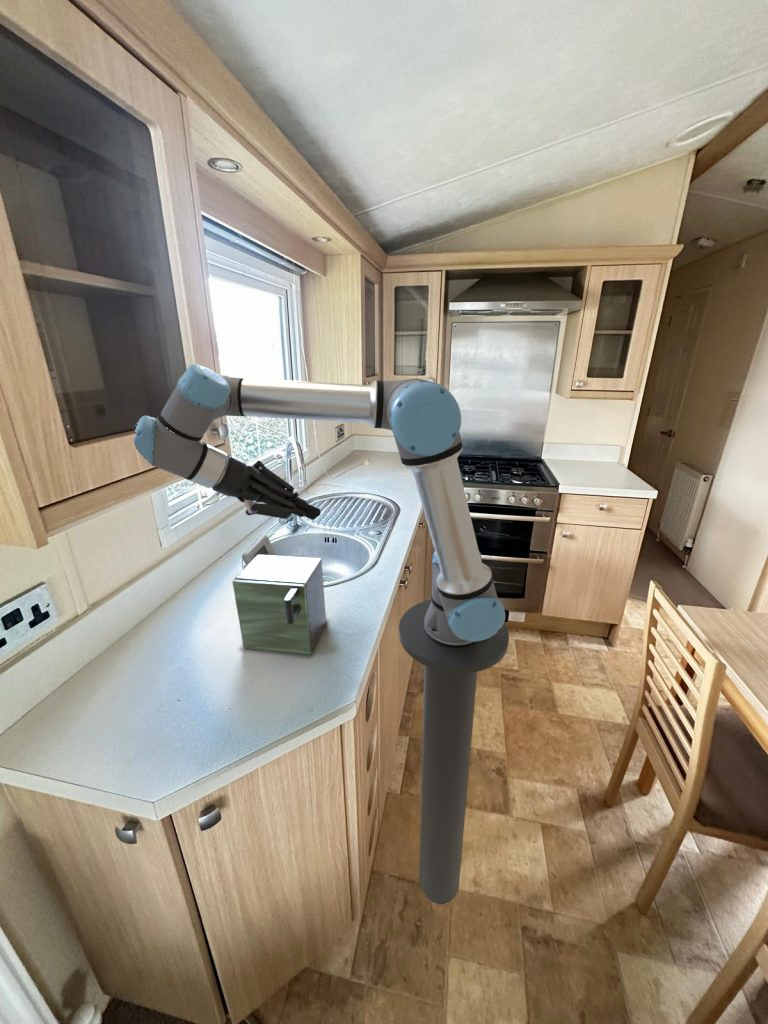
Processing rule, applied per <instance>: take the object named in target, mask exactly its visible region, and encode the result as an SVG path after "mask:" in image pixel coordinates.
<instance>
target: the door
mask: <svg viewBox="0 0 768 1024" xmlns="http://www.w3.org/2000/svg"><path fill="white" fill-rule="evenodd" d="M232 588H233V593H234V599H235V606H236V610H237V612H236V613H237V617H238V623H239V629H240V635H241V641H242V647H243V649H251V650H261V651H270V652H271V651H272V652H280V653H281V652H282V653H292V654H300V655H301V654H303V655H311V654H312V652H313V651H311V640H310V630H309V620H308V609H307V599H306V589H305V584H294V583H280V582H266V581H252V580H238V579H235V578H234V579H233V580H232Z"/></svg>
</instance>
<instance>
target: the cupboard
mask: <svg viewBox="0 0 768 1024" xmlns="http://www.w3.org/2000/svg"><path fill="white" fill-rule="evenodd" d="M234 579H238V580H252V581H266V582H280V583H294V584H305V589H306V599H307V609H308V620H309V630H310V640H311V651H312V652H313V651H314V649H315V646H316V645H317V642H318V641H319V639H320V636H321V634H322V632H323V629H324V627H325V626H326V624H327V613H326V601H325V600H326V599H325V587H324V577H323V563H322V558H319V557H304V556H303V557H302V556H289V555H288V556H287V555H277V556H273V555H257V556H256V557H255V558H254V559H253V560H252V561H251V562H250V563H249V564H248V565H247V566H246V567H245V568H244V567H243V569H242V570H241V571H240V572H239V573H238V574H237V575H236V576H235V577H234Z"/></svg>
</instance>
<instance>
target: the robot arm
mask: <svg viewBox="0 0 768 1024" xmlns="http://www.w3.org/2000/svg"><path fill="white" fill-rule="evenodd" d="M461 413H462V412H461V409H460V405H459V403H458V401H457V400H456V398H455V396H454V395H453V394H452V393H451V392H450V391H449V389H447V388H446V387H444V386H443V385H442V384H440V383H438V382H436V381H435V382H434V381H431V380H425V379H422V378H407V379H398V380H397V379H396V380H377V379H376V380H374V381H372V383H370V384H358V383H357V384H355V383H339V382H337V383H336V382H320V381H302V380H286V379H269V378H268V379H267V378H252V377H244V378H243V377H231V376H228V375H219V374H218V373H216V372H215V371H214V370H211V369H210V368H208V367H206V366H204V365H203V366H202V365H201V364H199V363H192V364H190V365H189V366H188V367H187V369H186V370H185V371H184V372H183V373H182V375H181V376H180V377H179V378H178V381H177V384H176V386H175V388H174V389H173V391H172V392H171V395H170V396H169V398H168V399H167V402H166V403H165V405H164V407H163V408H162V410H161V412H160V413H159V415H157V416H156V418H155V417H152V416H149V415H143V416H141V417H140V418H139V420H138V422H137V423H136V424H137V426H136V425H135V426H136V429H135V432H136V435H135V437H134V444H135V447H136V449H137V450H138V452H139V453H140V454H141V455H142V456H143V457H144V459H146V460H147V461H148V463H150V464H151V465H152V466H151V467H154V468H158V469H160V470H162V471H165V472H168V473H171V474H173V475H176V476H178V477H180V478H181V477H182V478H184V479H185V480H188V481H190V482H192V483H195V484H197V485H200V486H201V487H205V488H207V489H212V490H213V491H214V492H217V493H219V494H222V495H224V496H225V497H231V498H235V499H237V500H239V502H241V503H243V504H244V505H245V507H246V510H245V515H246V516H253V515H260V516H266V517H271V518H278V519H285V520H286V519H287V518H288V517H290V516H291V515H292V514H293V515H295V516H296V517H299V518H304V517H305V518H307V519H309V520H312V521H313V520H315V519H317V518H318V517H320V516H321V509H320V508H318V507H316V506H314V505H312V504H310V503H308V502H307V500H305V499H303V498H301V497H299V493H298V492H297V491H295V488H294V486H293V485H291V483H288V482H287V481H286V480H285V479H283V478H282V477H280V476H279V475H277V474H276V473H274V471H272V470H270V469H269V468H267V467H266V466H265V464H264V463H263V462H262V461H261V460H257V461H255V463H253V464H252V465H249V464H247V463H246V462H245V461H243V460H241V459H240V458H237V457H235V456H233V455H227V453H226V452H224V451H222V450H220V449H218V448H216V447H214V446H211V444H210V445H209V444H207V443H205V442H203V441H202V440H203V437H204V436H205V434H206V432H208V430H209V428H210V426H211V425H212V424H213V422H214V421H216V420H218V419H220V418H222V417H226V416H227V417H252V418H273V419H289V420H290V419H291V420H306V421H307V420H310V421H324V422H325V421H326V422H327V421H328V422H347V423H363V424H369V425H370V427H371V428H372V429H382V430H383V429H384V430H388V431H392V434H393V438H394V441H395V444H396V448H397V451H398V455H399V459H400V461H401V465H402V466H403V467H405V468H407V469H409V470H411V471H412V474H413V477H414V481H415V485H416V488H417V492H418V495H419V499H420V503H421V505H422V506H421V507H422V510H423V513H424V516H425V520H426V524H427V527H428V531H429V535H430V538H431V542H432V546H433V549H434V552H433V555H432V560H431V563H432V567H431V568H432V571H431V573H432V574H431V575H432V576H431V600H432V601H431V604H430V606H429V608H428V611H427V613H426V615H425V619H424V631H425V633H426V635H427V636H428V637H429V638H430V639H431V640H433V641H434V642H436V643H438V644H441V645H444V646H448V647H466V646H470V645H472V644H474V643H476V642H477V641H482V640H485V639H488V638H490V637H491V636H493V635H494V634H496V633H497V632H498V630H499V629H500V628H501V627H502V626H503V624H505V621H506V611H505V607H504V604H503V603H502V602H501V600H500V599H499V597H498V595H497V590H496V587H495V582H494V578H493V574H492V570H491V568H490V567H489V566H488V565H486V564H485V563H483V559H482V553H481V551H480V550H479V547H478V542H477V537H476V533H475V530H474V526H473V521H472V516H471V513H470V508H469V504H468V500H467V499H468V498H467V496H466V491H465V487H464V483H463V479H462V474H461V471H460V465H459V461H458V457H459V456H460V455H461V453H462V451H463V449H464V446H463V442H462V437H461V432H460V430H461V426H462V414H461ZM166 427H167V428H168V429H167V428H166ZM170 430H171V431H172V432H171V431H170ZM173 432H174V433H173ZM148 463H147V464H148ZM150 464H149V465H150ZM294 491H295V492H294Z"/></svg>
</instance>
